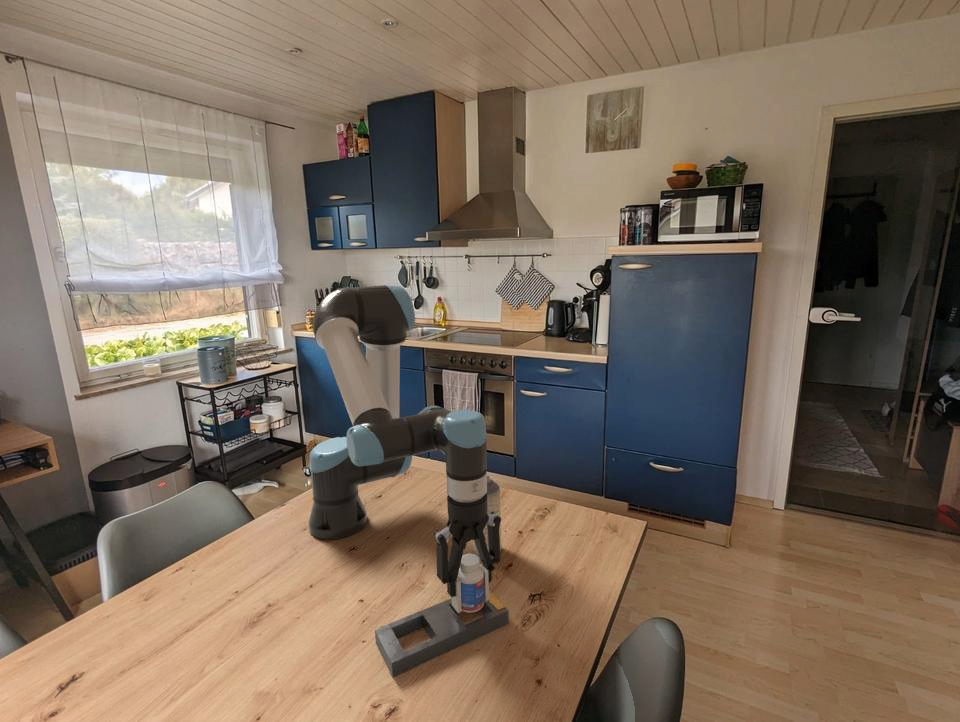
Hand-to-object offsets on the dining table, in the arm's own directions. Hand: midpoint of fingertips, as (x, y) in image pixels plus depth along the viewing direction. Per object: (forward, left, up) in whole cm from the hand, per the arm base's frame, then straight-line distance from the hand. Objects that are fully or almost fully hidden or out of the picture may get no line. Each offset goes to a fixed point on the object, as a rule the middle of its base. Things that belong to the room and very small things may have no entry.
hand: (470, 602), depth 96 cm
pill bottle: (0, 0, -1) cm, 1 cm away
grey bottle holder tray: (0, -6, -4) cm, 7 cm away
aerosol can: (-19, +15, -5) cm, 24 cm away
